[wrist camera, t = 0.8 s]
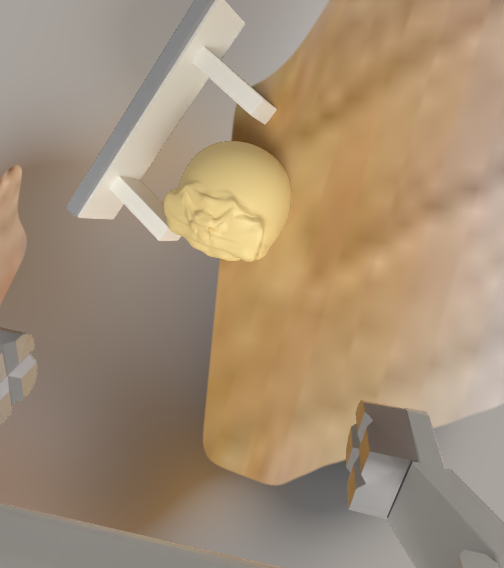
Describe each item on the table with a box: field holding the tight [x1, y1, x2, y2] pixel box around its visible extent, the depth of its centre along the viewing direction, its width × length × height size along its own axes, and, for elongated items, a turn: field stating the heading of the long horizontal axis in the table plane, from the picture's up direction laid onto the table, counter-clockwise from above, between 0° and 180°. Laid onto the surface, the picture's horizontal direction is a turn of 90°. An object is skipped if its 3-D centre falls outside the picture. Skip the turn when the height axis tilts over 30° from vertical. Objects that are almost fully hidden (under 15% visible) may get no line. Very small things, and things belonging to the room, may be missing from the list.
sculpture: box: [164, 141, 291, 262], centre depth 45 cm, size 11×12×11 cm
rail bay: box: [66, 0, 277, 241], centre depth 48 cm, size 28×11×7 cm, turn 138°
